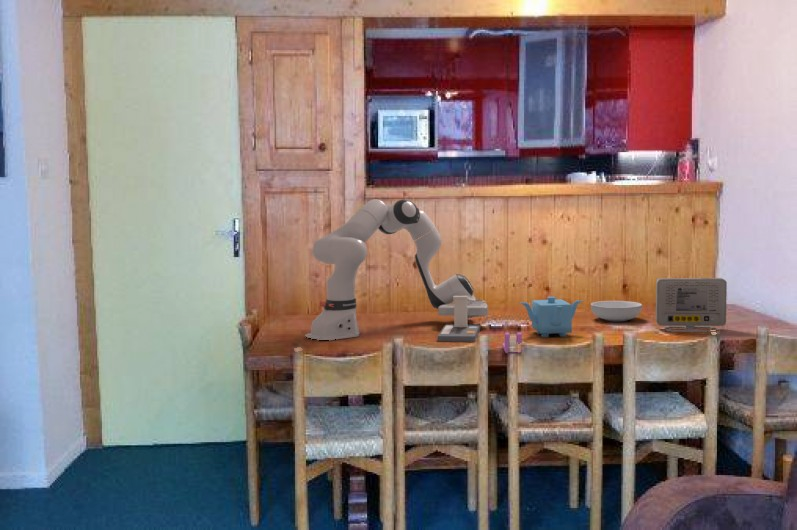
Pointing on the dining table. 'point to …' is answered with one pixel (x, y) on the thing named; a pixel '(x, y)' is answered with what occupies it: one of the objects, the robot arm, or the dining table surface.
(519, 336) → the bracket
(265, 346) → the dining table surface
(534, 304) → the teakettle
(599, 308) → the serving bowl
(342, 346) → the dining table surface
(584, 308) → the dining table surface
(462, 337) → the switch panel
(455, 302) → the switch tab
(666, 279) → the network device
